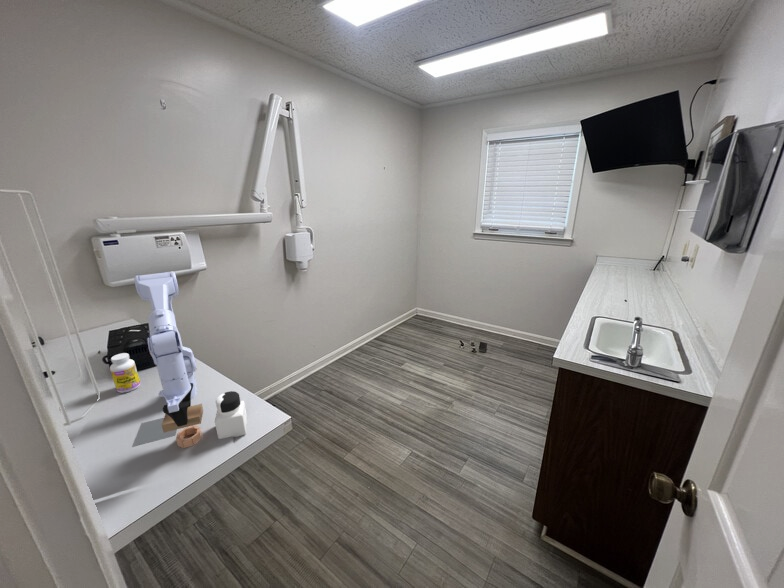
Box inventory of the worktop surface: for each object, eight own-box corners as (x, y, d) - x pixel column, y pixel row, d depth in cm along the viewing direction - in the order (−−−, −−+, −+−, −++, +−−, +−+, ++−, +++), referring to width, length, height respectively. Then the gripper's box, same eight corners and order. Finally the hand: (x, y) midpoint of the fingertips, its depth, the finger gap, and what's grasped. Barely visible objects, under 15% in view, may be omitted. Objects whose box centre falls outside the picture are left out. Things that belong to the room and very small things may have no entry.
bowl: (180, 437, 89) (178, 429, 88) (202, 431, 91) (200, 423, 90) (177, 452, 84) (174, 443, 83) (200, 445, 86) (198, 436, 85)
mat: (142, 425, 93) (141, 423, 93) (181, 415, 97) (180, 413, 97) (132, 449, 85) (131, 446, 84) (175, 437, 89) (175, 435, 88)
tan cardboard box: (168, 418, 86) (166, 411, 85) (203, 410, 89) (201, 403, 88) (163, 432, 81) (161, 425, 80) (200, 423, 84) (199, 416, 83)
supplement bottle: (116, 396, 106) (106, 363, 102) (117, 386, 111) (107, 355, 107) (141, 388, 110) (132, 357, 106) (140, 380, 115) (131, 349, 111)
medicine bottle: (247, 418, 96) (241, 386, 92) (246, 435, 90) (239, 400, 86) (221, 424, 94) (214, 391, 90) (218, 441, 87) (211, 406, 84)
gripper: (160, 364, 85) (171, 405, 89) (147, 394, 72) (161, 440, 77) (190, 359, 88) (199, 398, 92) (183, 387, 75) (194, 431, 80)
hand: (184, 417), depth 85 cm, fingers closed on tan cardboard box, 6 cm apart
